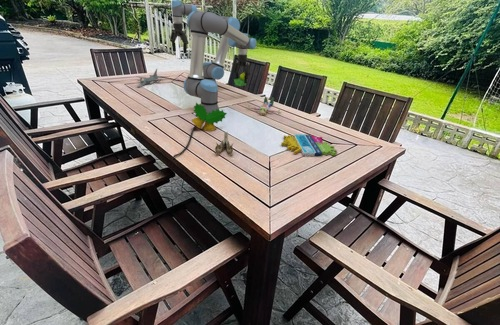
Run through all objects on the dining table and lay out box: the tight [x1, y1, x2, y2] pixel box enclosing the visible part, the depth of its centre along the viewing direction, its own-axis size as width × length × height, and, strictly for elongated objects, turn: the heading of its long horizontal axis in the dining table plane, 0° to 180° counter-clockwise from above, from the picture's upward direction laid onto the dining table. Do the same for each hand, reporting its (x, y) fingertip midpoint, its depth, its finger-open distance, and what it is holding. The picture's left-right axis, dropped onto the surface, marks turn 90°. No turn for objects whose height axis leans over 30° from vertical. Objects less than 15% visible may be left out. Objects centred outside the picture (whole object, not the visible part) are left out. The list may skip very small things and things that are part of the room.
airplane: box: [135, 68, 167, 88], centre depth 254 cm, size 38×31×10 cm
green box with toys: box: [233, 71, 249, 87], centre depth 225 cm, size 11×9×11 cm
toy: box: [246, 95, 283, 116], centre depth 203 cm, size 28×7×30 cm
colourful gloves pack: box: [280, 133, 338, 157], centre depth 150 cm, size 26×2×30 cm
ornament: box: [191, 102, 228, 132], centre depth 162 cm, size 21×8×15 cm, turn 105°
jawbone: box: [214, 131, 234, 156], centre depth 136 cm, size 9×15×10 cm
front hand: (241, 82), depth 226 cm, fingers closed on green box with toys, 9 cm apart
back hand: (179, 52), depth 216 cm, fingers open, 13 cm apart
